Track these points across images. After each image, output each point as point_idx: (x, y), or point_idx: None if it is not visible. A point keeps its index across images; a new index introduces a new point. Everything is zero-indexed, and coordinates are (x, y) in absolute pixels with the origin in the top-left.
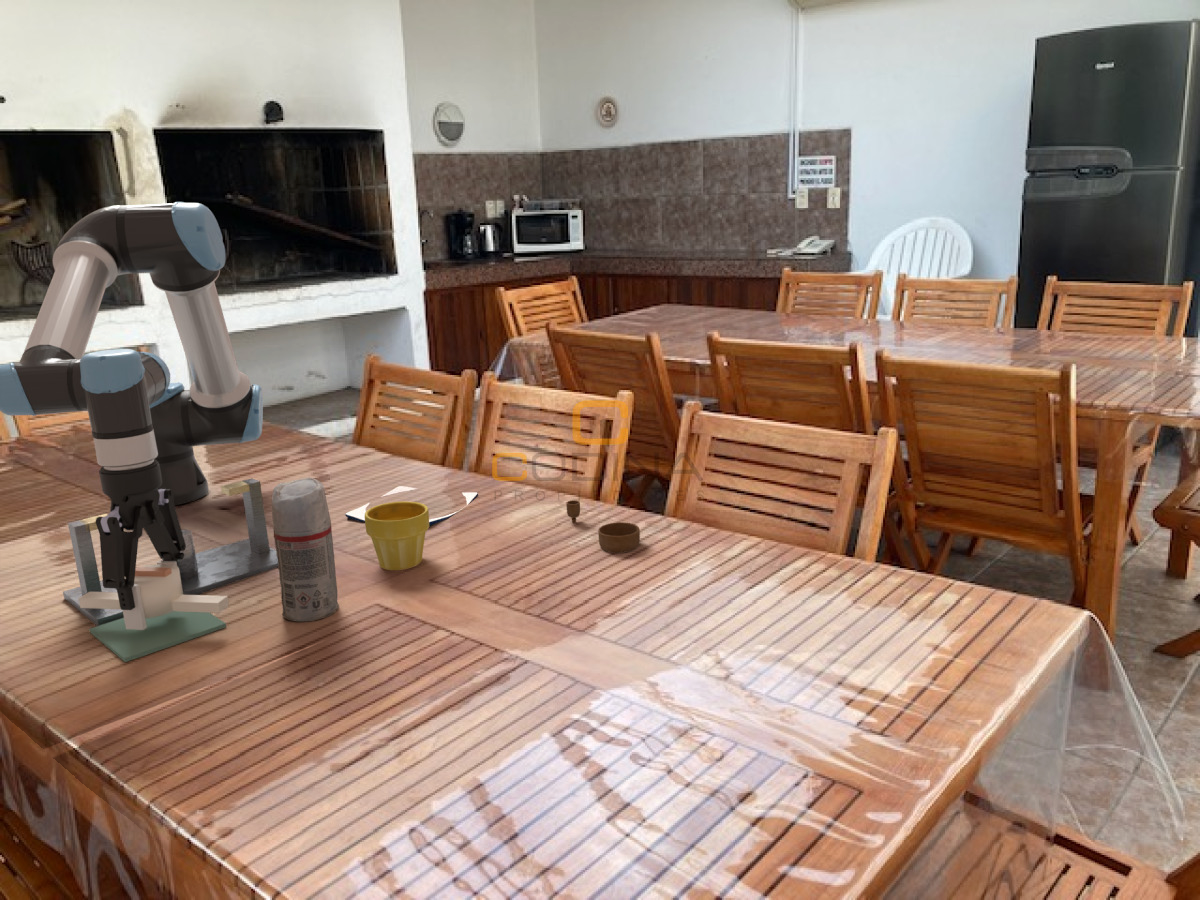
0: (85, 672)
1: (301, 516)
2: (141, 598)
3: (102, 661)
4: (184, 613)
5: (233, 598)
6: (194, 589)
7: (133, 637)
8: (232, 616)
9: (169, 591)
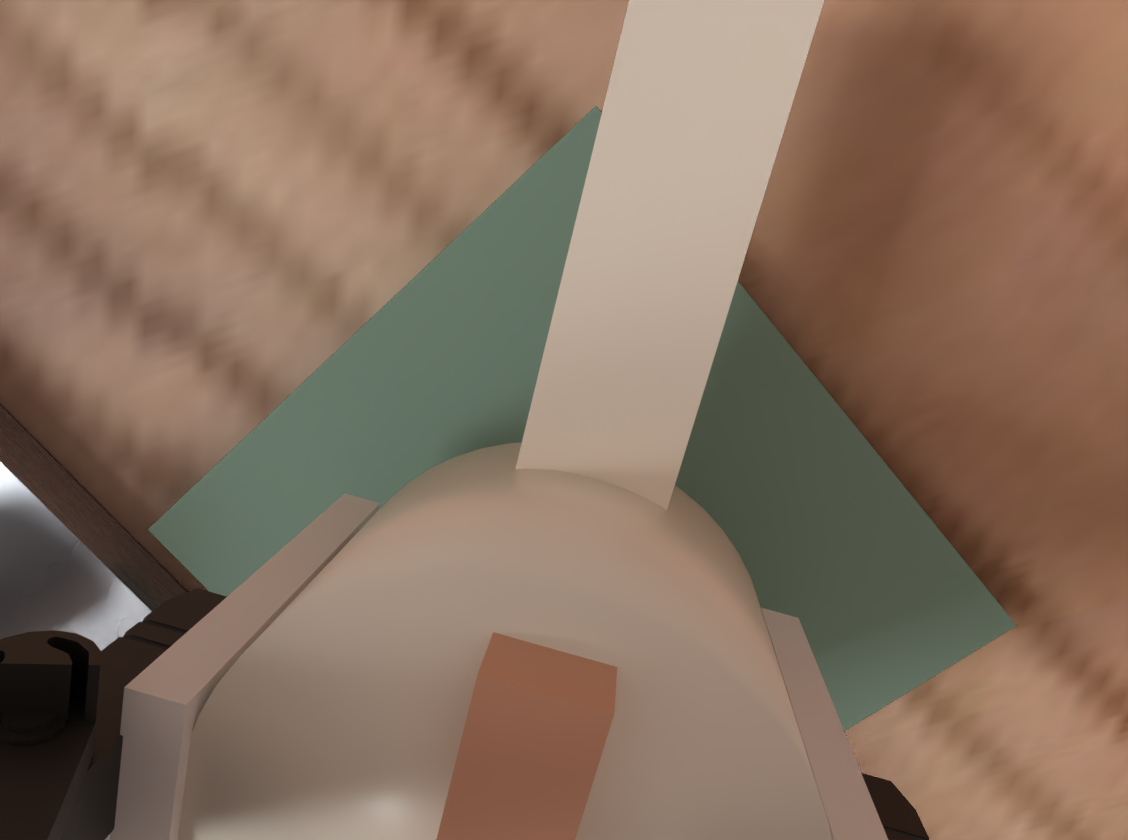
0: (1068, 777)
1: None
2: (811, 764)
3: (942, 735)
4: (386, 466)
5: (117, 224)
6: (51, 508)
7: None
8: (415, 128)
9: (676, 554)
